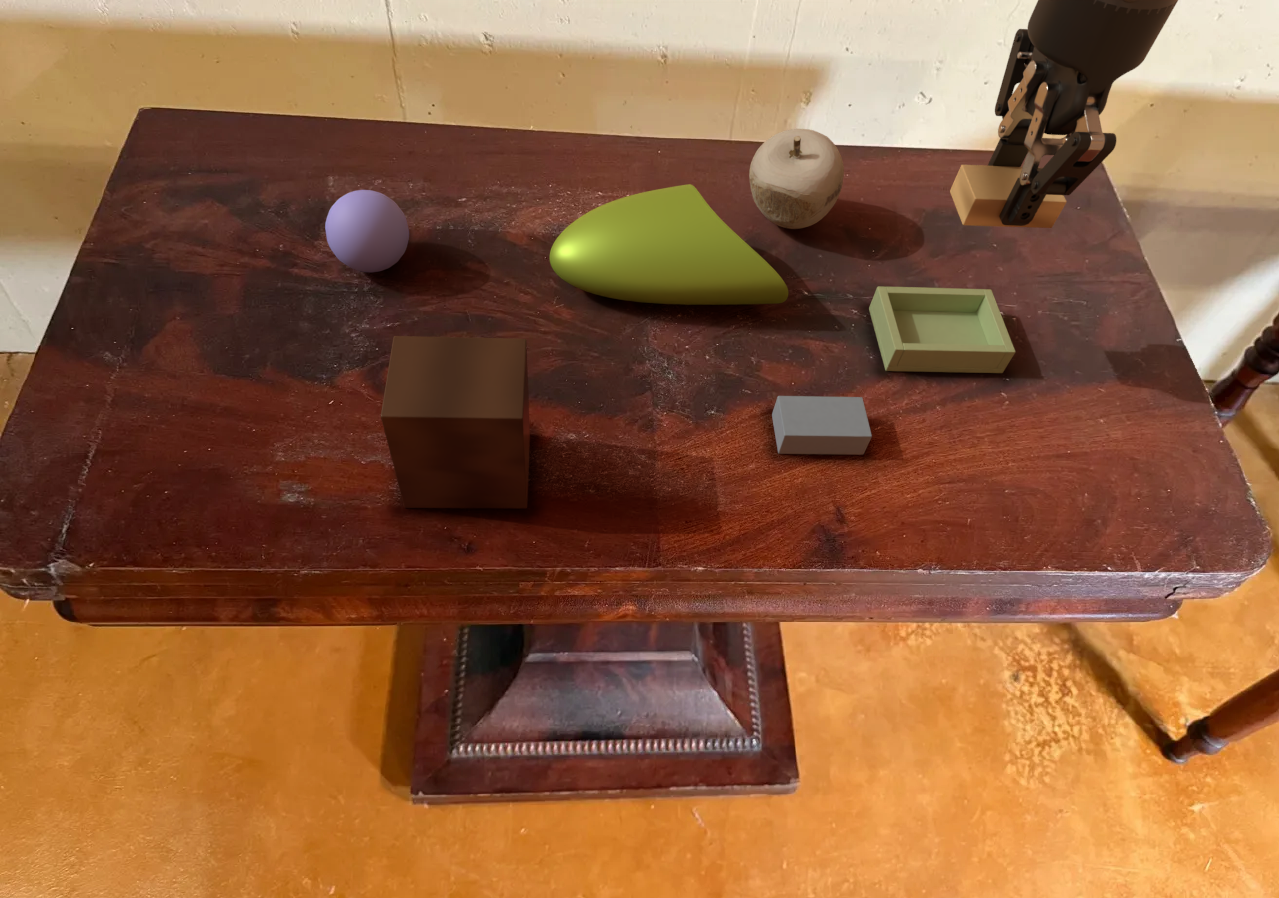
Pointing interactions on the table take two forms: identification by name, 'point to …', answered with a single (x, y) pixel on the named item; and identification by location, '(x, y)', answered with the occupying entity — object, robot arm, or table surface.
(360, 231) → the sphere
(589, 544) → the table surface
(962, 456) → the table surface
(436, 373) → the stand
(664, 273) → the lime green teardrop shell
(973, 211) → the birch pad
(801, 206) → the decorative object
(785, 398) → the rubber pad
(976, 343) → the olive green tray
